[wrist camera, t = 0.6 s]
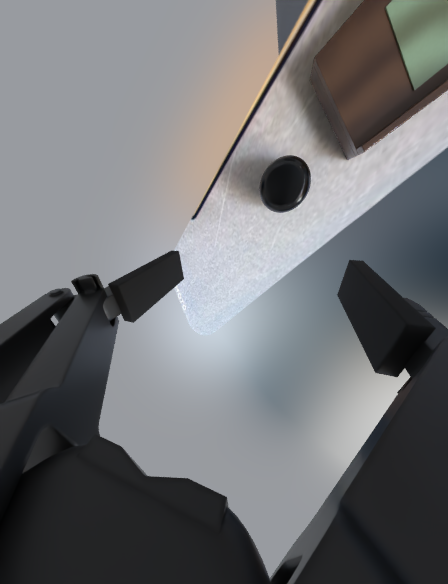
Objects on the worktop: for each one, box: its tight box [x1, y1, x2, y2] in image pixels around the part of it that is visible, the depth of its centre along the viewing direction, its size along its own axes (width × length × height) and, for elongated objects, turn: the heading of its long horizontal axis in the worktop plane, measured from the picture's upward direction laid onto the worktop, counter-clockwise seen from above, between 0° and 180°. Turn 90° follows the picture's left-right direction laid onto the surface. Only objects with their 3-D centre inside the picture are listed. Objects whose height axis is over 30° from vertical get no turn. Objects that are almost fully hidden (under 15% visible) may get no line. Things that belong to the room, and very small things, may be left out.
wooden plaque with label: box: [310, 0, 448, 160], centre depth 17 cm, size 12×20×7 cm, turn 130°
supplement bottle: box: [260, 155, 311, 213], centre depth 26 cm, size 7×7×12 cm
